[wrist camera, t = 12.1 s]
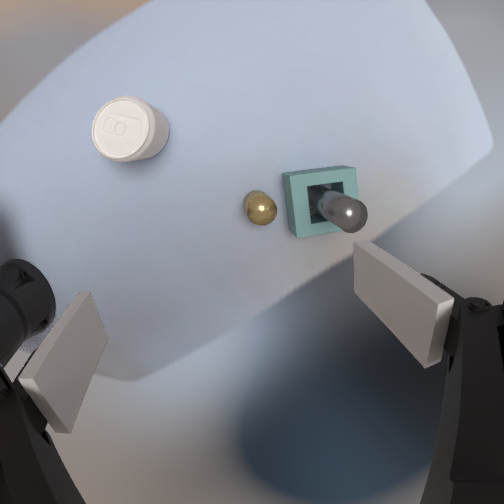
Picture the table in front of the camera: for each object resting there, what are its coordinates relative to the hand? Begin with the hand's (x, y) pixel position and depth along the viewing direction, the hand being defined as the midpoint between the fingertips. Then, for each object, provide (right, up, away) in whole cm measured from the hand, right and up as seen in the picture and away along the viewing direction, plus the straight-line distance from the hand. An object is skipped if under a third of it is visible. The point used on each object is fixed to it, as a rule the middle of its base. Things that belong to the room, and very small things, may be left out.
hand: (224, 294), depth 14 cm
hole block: (+11, +11, +33) cm, 37 cm away
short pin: (+2, +9, +33) cm, 34 cm away
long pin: (+11, +11, +33) cm, 36 cm away
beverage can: (-15, +20, +27) cm, 37 cm away
